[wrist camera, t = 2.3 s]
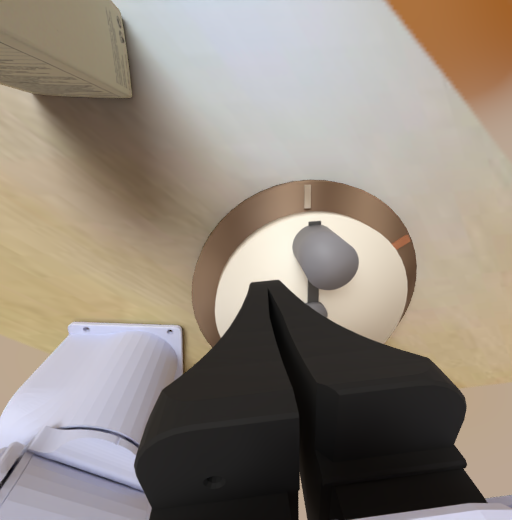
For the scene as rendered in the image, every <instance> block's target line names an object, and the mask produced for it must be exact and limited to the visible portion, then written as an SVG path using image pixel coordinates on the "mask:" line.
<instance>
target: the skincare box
mask: <svg viewBox="0 0 512 520" xmlns="http://www.w3.org/2000/svg"><path fill="white" fill-rule="evenodd" d="M0 84H2V85H5V86H8V87H12V88H15V89H19V90H22V91H26V92H29V93H33V94H41V95H54V96H70V97H95V98H131V97H132V89H131V80H130V71H129V63H128V56H127V48H126V41H125V35H124V29H123V23H122V18H121V13H120V11H119V9H118V8H117V7H116V6H115V4H114V3H113V2H112V1H111V0H0Z"/></svg>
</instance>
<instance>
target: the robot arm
mask: <svg viewBox="0 0 512 520" xmlns="http://www.w3.org/2000/svg"><path fill="white" fill-rule="evenodd" d="M86 327H88V328H89V329H87V328H86ZM169 330H172V332H171V331H169ZM68 331H69V335H68V336H67V337H66V338H65V340H64V341H63V342H62V343H61V344H60V345H59V346H58V347H57V348H56V349H55V350H54V351H53V352H52V354H51V355H50V356H49V357H48V358H47V359H46V360H45V361H44V362H43V363H42V364H41V365H40V366H39V368H38V369H37V370H36V371H35V372H34V373H33V374H32V375H31V376H30V377H29V378H28V379H27V380H26V382H25V383H24V384H23V385H22V386H21V387H20V388H19V389H18V390H17V392H16V393H15V394H14V395H13V397H12V398H11V399H10V401H9V402H8V404H7V406H6V407H5V409H4V411H3V413H2V415H1V417H0V520H298V490H299V489H300V485H299V484H300V483H299V480H300V479H299V476H300V477H301V483H302V489H303V495H304V501H305V507H306V513H307V519H308V520H512V495H507V496H500V497H493V498H484V497H483V495H482V494H481V493H480V491H479V490H478V489H477V487H476V486H475V484H474V483H473V482H472V480H471V479H470V477H469V476H468V475H467V473H466V472H465V471H464V469H463V468H466V466H467V463H466V460H465V459H464V458H463V456H462V455H461V453H460V452H459V451H458V449H457V448H456V447H455V445H454V443H455V440H456V438H457V435H458V433H459V431H460V428H461V425H462V423H463V421H464V417H465V413H466V401H465V397H464V395H463V394H462V393H461V392H460V390H459V389H458V388H457V387H456V386H455V385H454V384H453V383H452V381H451V380H450V379H449V378H448V377H447V376H446V375H445V374H444V373H443V372H442V371H441V370H440V369H439V368H438V367H437V366H436V365H435V364H434V363H433V362H432V361H431V360H430V359H429V358H427V357H423V356H420V355H416V354H413V353H410V352H406V351H403V350H400V349H396V348H393V347H390V346H387V345H385V344H382V343H379V342H377V341H374V340H371V339H369V338H366V337H364V336H362V335H359V334H357V333H355V332H353V331H351V330H348V329H346V328H344V327H342V326H340V325H338V324H336V323H335V322H333V321H331V320H330V319H328V318H326V317H324V316H323V315H321V314H320V313H318V312H317V311H315V310H314V309H312V308H311V307H310V306H308V305H307V304H306V303H304V302H303V301H302V300H301V299H300V298H298V297H297V296H296V295H295V294H294V293H293V292H292V291H290V290H289V289H288V288H287V287H286V286H285V285H284V284H283V283H282V282H281V281H280V280H269V281H259V282H251V283H250V285H249V289H248V293H247V295H246V298H245V300H244V302H243V304H242V307H241V309H240V310H239V312H238V314H237V316H236V317H235V319H234V321H233V322H232V324H231V325H230V327H229V328H228V330H227V331H226V332H225V334H224V335H223V336H222V337H221V338H220V340H219V341H218V342H217V343H216V344H215V346H214V347H213V348H212V349H211V350H210V351H209V352H208V353H207V354H206V355H205V356H204V357H203V358H202V359H201V360H200V361H198V362H197V363H196V364H195V365H194V366H193V367H192V368H190V369H189V370H188V371H187V372H185V373H184V374H183V339H182V328H181V327H180V326H178V325H155V324H125V323H95V322H72V323H71V324H70V325H69V326H68ZM299 471H300V474H299Z"/></svg>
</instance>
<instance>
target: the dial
mask: <svg viewBox="0 0 512 520" xmlns="http://www.w3.org/2000/svg"><path fill="white" fill-rule="evenodd" d="M269 280H280V281H281V282H282V283H283V284H284V285H285V286H286V287H287V288H288V289H289V290H290V291H292V292H293V293H294V294H295V295H296V296H297V297H298V298H300V299H301V300H302V301H303V302H304V303H306V304H307V305H308V306H310V307H311V308H312V309H314V310H315V311H317V312H318V313H320V314H321V315H323V316H324V317H326V318H328V319H330V320H331V321H333V322H335V323H336V324H338V325H340V326H342V327H344V328H346V329H348V330H351V331H353V332H355V333H357V334H359V335H362V336H364V337H366V338H369V339H371V340H374V341H377V342H379V343H382V344H384V343H385V342H386V341H387V340H388V338H389V337H390V336H391V334H392V333H393V332H394V330H395V328H396V326H397V325H398V323H399V321H400V319H401V316H402V314H403V311H404V308H405V304H406V299H407V291H408V289H407V276H406V270H405V267H404V265H403V262H402V259H401V257H400V256H399V254H398V252H397V250H396V249H395V248H394V247H393V245H392V244H391V243H390V242H389V241H388V240H387V239H386V238H385V237H384V236H383V235H382V234H380V233H379V232H377V231H376V230H374V229H373V228H371V227H369V226H367V225H366V224H364V223H362V222H360V221H358V220H356V219H353V218H351V217H349V216H346V215H342V214H338V213H334V212H325V211H308V212H301V213H295V214H291V215H288V216H284V217H281V218H279V219H276V220H274V221H272V222H269V223H267V224H266V225H264V226H262V227H261V228H259V229H257V230H256V231H255V232H253V233H252V234H251V235H249V236H248V237H247V238H246V239H245V240H244V241H243V242H242V243H241V244H240V245H239V246H238V247H237V248H236V249H235V251H234V252H233V253H232V255H231V256H230V257H229V259H228V261H227V263H226V264H225V266H224V268H223V271H222V273H221V276H220V279H219V283H218V287H217V293H216V301H215V319H216V325H217V329H218V333H219V335H220V337H222V336H223V335H224V334H225V332H226V331H227V330H228V328H229V327H230V325H231V324H232V322H233V321H234V319H235V317H236V316H237V314H238V312H239V310H240V309H241V307H242V304H243V302H244V300H245V298H246V295H247V293H248V289H249V285H250V283H251V282H259V281H269Z"/></svg>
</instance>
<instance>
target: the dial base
mask: <svg viewBox="0 0 512 520" xmlns="http://www.w3.org/2000/svg"><path fill="white" fill-rule="evenodd" d="M308 211H325V212H334V213H338V214H342V215H346V216H349V217H351V218H353V219H356V220H358V221H360V222H362V223H364V224H366V225H367V226H369V227H371V228H373V229H374V230H376V231H377V232H379V233H380V234H382V235H383V236H384V237H385V238H386V239H387V240H388V241H389V242H390V243H391V244H392V245H393V247H394V248H395V249H396V250H397V252H398V254H399V256H400V257H401V259H402V262H403V265H404V267H405V270H406V276H407V289H408V291H407V299H406V304H405V308H404V311H403V314H402V316H401V319H402V317H403V316H404V314H405V312H406V310H407V308H408V306H409V304H410V301H411V298H412V295H413V292H414V287H415V281H416V268H417V265H416V255H415V250H414V247H413V243H412V240H411V237H410V235H409V233H408V231H407V229H406V227H405V226H404V224H403V223H402V221H401V220H400V218H399V217H398V216H397V215H396V214H395V212H394V211H393V210H392V209H391V208H390V207H389V206H388V205H386V204H385V203H384V202H382V201H381V200H379V199H378V198H377V197H375V196H373V195H371V194H369V193H367V192H365V191H363V190H361V189H358V188H355V187H352V186H349V185H346V184H342V183H337V182H332V181H326V180H302V181H293V182H288V183H284V184H280V185H276V186H273V187H271V188H268V189H266V190H263V191H261V192H259V193H257V194H255V195H253V196H251V197H250V198H248V199H246V200H244V201H243V202H242V203H240V204H239V205H238V206H236V207H235V208H234V209H232V210H231V211H230V212H229V213H228V214H227V215H226V216H225V217H224V218H223V219H222V220H221V221H220V222H219V223H218V225H217V226H216V227H215V229H214V230H213V231H212V232H211V234H210V236H209V237H208V239H207V241H206V243H205V244H204V246H203V248H202V251H201V254H200V256H199V259H198V261H197V264H196V267H195V272H194V276H193V282H192V303H193V309H194V314H195V318H196V320H197V323H198V325H199V328H200V330H201V332H202V333H203V335H204V337H205V338H206V340H207V341H208V343H209V344H210V345H211V346H212V348H213V347H214V346H215V344H216V343H217V342H218V341H219V340H220V338H221V337H220V335H219V333H218V329H217V325H216V319H215V301H216V293H217V287H218V283H219V279H220V276H221V273H222V271H223V268H224V266H225V264H226V263H227V261H228V259H229V257H230V256H231V255H232V253H233V252H234V251H235V249H236V248H237V247H238V246H239V245H240V244H241V243H242V242H243V241H244V240H245V239H246V238H247V237H248V236H249V235H251V234H252V233H253V232H255V231H256V230H257V229H259V228H261V227H262V226H264V225H266V224H267V223H269V222H272V221H274V220H276V219H279V218H281V217H284V216H288V215H291V214H295V213H301V212H308ZM401 319H400V321H401ZM400 321H399V322H400ZM398 324H399V323H398ZM396 327H397V326H396Z"/></svg>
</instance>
